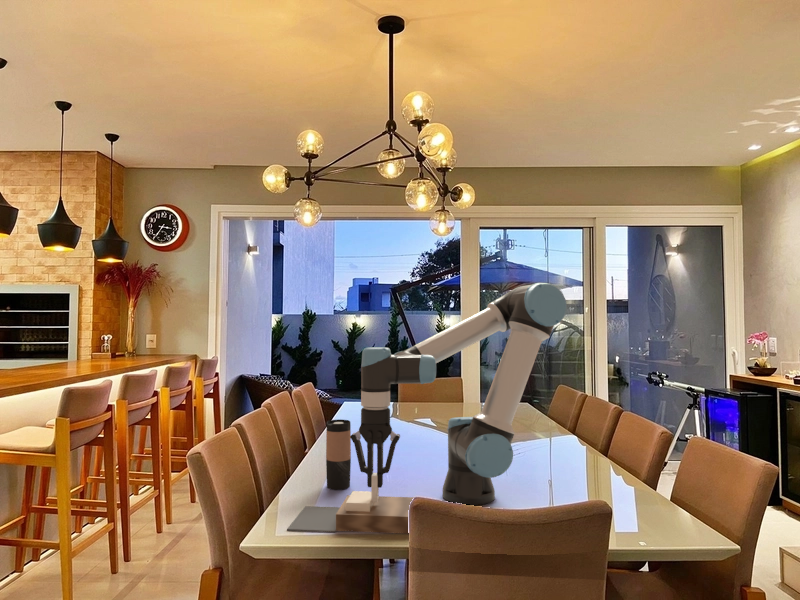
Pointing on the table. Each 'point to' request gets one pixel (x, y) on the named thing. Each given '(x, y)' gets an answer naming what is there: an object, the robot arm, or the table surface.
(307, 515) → the mat
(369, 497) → the tile
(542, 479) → the table surface
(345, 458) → the travel mug
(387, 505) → the wooden block
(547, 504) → the table surface
